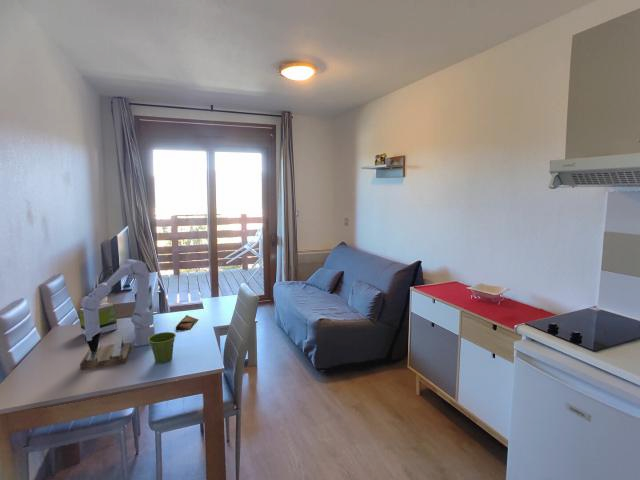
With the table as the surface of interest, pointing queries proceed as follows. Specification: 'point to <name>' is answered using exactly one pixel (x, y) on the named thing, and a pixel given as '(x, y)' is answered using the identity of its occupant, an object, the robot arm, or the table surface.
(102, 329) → the tea box
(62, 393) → the table surface
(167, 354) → the plant pot
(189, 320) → the sunglasses case
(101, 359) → the wooden wall rack
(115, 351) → the bar
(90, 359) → the latch
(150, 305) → the gum box
